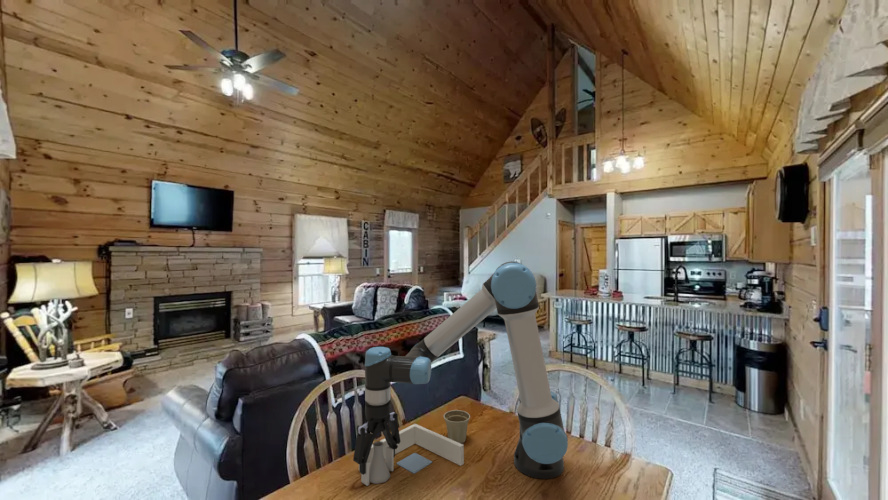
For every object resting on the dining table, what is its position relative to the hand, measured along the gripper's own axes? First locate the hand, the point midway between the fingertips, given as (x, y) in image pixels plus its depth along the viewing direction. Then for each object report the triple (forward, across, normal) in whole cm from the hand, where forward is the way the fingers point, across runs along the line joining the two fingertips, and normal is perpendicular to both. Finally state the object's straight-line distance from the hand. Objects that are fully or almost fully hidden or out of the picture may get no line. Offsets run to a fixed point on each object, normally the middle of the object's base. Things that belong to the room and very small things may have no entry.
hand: (377, 476), depth 113 cm
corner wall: (0, -10, +4) cm, 11 cm away
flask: (0, 0, 0) cm, 1 cm away
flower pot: (0, -32, +4) cm, 32 cm away
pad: (0, -12, +3) cm, 12 cm away
